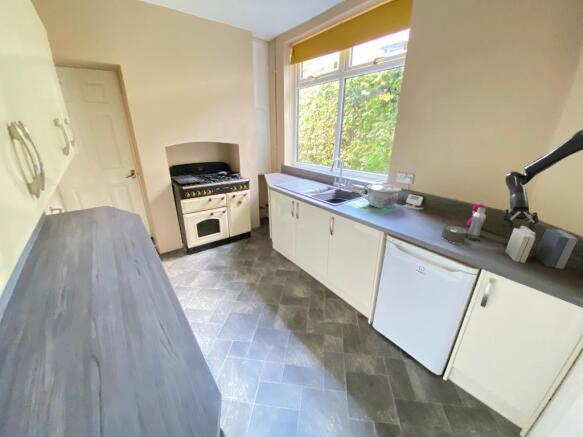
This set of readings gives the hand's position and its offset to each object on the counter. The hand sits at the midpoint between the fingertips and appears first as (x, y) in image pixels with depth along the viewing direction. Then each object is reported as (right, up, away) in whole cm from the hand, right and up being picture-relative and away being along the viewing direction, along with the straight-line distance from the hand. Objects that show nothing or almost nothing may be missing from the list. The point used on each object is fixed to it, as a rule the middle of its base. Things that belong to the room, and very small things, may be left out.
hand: (521, 228), depth 128 cm
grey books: (+4, -17, -9) cm, 19 cm away
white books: (-8, -15, -5) cm, 17 cm away
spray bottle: (-6, -3, +27) cm, 28 cm away
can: (-28, -7, +15) cm, 32 cm away
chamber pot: (-49, +16, +75) cm, 90 cm away
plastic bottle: (-16, -8, +15) cm, 23 cm away
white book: (-2, -13, -1) cm, 14 cm away
